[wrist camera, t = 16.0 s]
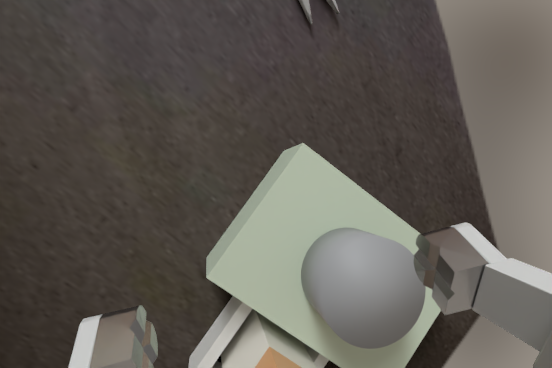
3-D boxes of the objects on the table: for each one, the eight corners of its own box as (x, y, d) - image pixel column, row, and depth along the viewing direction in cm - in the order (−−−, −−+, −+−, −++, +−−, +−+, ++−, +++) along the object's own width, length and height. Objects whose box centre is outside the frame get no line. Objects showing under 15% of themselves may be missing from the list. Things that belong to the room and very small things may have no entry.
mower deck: (303, 428, 35) (353, 555, 23) (151, 333, 32) (119, 421, 20) (418, 253, 37) (517, 287, 25) (283, 150, 34) (324, 134, 22)
